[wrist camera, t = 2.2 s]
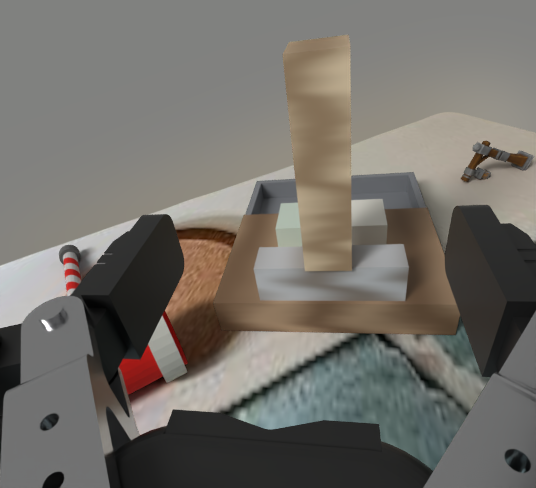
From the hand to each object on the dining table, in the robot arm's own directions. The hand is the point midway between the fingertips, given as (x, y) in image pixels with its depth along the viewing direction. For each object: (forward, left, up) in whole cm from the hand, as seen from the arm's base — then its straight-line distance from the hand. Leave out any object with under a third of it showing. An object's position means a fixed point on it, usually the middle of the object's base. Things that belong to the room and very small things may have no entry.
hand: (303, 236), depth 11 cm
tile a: (-3, -18, -13) cm, 23 cm away
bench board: (0, -16, -16) cm, 22 cm away
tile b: (+2, -18, -13) cm, 23 cm away
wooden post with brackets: (-18, -33, -16) cm, 41 cm away
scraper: (0, -11, -13) cm, 17 cm away
